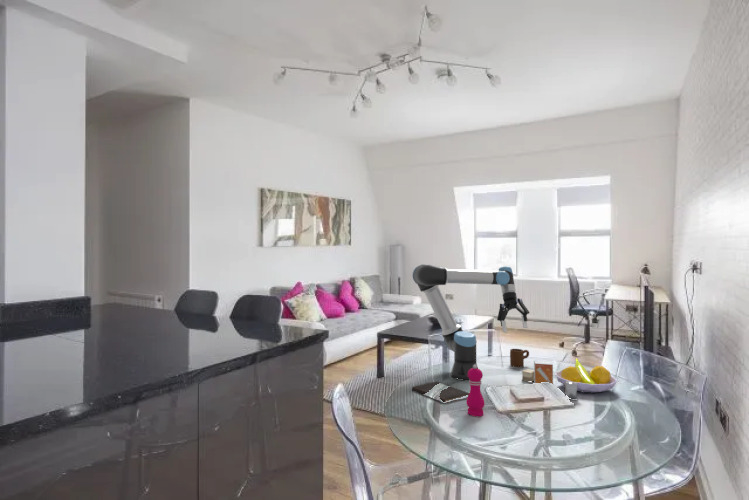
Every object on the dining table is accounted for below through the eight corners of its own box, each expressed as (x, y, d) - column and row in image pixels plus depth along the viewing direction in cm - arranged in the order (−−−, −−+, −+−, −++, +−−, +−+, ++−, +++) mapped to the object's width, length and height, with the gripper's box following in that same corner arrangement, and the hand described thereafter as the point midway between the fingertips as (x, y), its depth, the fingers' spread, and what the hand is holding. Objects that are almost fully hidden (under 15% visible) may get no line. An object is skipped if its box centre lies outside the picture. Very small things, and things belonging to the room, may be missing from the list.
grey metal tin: (570, 400, 185) (570, 385, 185) (562, 397, 190) (562, 381, 190) (579, 399, 186) (579, 384, 187) (571, 396, 191) (571, 381, 191)
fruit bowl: (617, 401, 185) (617, 375, 185) (551, 391, 198) (551, 367, 198) (617, 384, 209) (616, 362, 209) (558, 377, 222) (558, 356, 223)
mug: (525, 363, 253) (525, 347, 253) (532, 366, 245) (532, 350, 246) (507, 364, 250) (507, 348, 250) (514, 367, 243) (514, 351, 243)
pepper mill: (485, 411, 172) (484, 363, 172) (483, 418, 165) (483, 367, 166) (467, 409, 174) (467, 361, 175) (465, 415, 167) (465, 365, 168)
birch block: (530, 382, 213) (530, 372, 214) (522, 380, 218) (522, 370, 218) (536, 380, 216) (536, 371, 217) (528, 378, 220) (527, 369, 221)
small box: (535, 390, 200) (534, 363, 200) (534, 386, 206) (533, 360, 206) (553, 392, 197) (552, 364, 198) (551, 388, 204) (551, 361, 204)
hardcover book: (436, 386, 210) (436, 381, 210) (470, 398, 190) (470, 393, 190) (411, 391, 201) (411, 386, 201) (444, 405, 182) (444, 399, 182)
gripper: (531, 288, 231) (538, 326, 223) (496, 299, 250) (501, 334, 242) (523, 286, 227) (529, 324, 219) (487, 297, 246) (492, 333, 238)
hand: (515, 330), depth 231 cm, fingers open, 13 cm apart
